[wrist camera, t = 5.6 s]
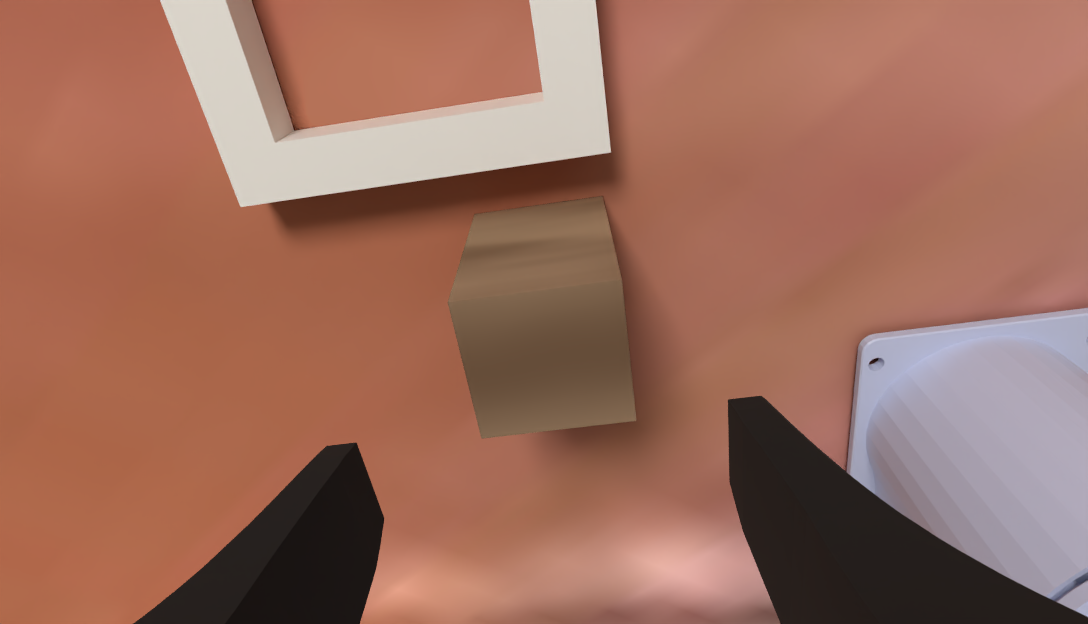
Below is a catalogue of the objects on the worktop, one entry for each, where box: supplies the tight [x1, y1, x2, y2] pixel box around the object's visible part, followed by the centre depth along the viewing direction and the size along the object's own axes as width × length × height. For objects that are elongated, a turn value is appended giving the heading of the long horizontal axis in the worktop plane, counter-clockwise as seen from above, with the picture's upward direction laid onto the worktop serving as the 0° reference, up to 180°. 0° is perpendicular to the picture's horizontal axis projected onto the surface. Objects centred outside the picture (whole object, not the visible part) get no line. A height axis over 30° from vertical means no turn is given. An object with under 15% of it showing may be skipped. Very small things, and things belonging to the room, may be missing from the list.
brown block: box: [448, 196, 636, 438], centre depth 18 cm, size 4×4×6 cm
